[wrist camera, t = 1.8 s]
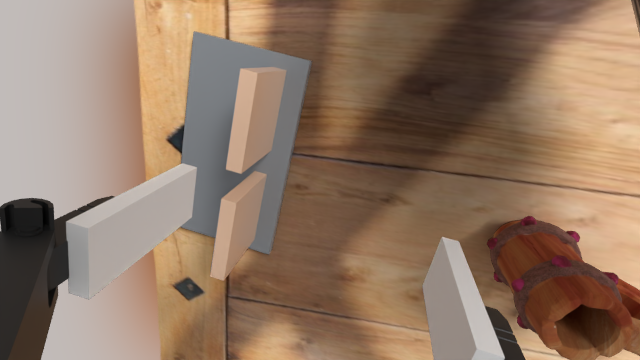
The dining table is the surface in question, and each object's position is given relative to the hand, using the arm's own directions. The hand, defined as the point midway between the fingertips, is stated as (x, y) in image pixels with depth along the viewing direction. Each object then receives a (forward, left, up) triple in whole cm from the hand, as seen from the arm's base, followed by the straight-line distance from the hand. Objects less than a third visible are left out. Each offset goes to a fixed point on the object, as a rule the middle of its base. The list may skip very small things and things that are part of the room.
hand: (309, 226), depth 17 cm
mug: (+7, +24, -24) cm, 35 cm away
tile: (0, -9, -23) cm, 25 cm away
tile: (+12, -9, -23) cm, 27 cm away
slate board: (+6, -13, -24) cm, 28 cm away
